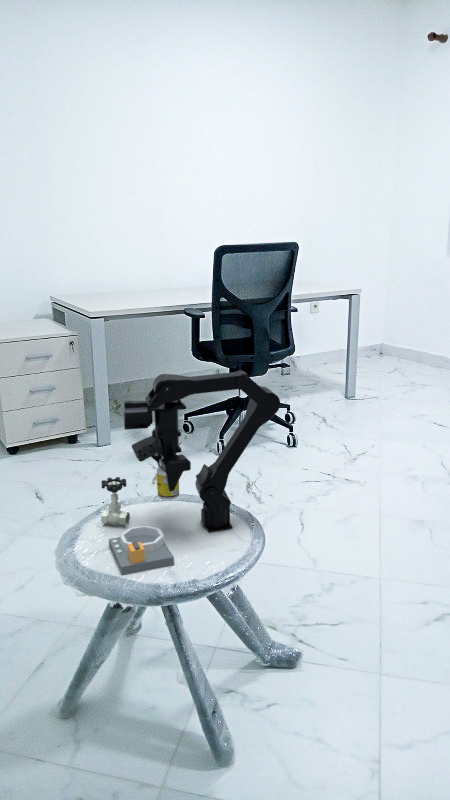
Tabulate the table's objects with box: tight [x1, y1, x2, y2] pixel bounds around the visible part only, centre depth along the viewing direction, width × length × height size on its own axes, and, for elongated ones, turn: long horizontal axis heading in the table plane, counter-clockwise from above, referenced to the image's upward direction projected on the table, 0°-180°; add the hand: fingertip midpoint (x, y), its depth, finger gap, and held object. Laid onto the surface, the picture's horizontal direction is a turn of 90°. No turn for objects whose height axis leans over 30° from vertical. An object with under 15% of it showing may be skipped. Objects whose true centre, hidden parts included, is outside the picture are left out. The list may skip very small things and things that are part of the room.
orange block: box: [128, 541, 145, 564], centre depth 141 cm, size 3×4×4 cm
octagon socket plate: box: [108, 525, 175, 576], centre depth 147 cm, size 12×14×4 cm
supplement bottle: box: [156, 458, 180, 501], centre depth 156 cm, size 5×5×10 cm
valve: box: [100, 476, 131, 527], centre depth 161 cm, size 7×7×12 cm
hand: (168, 486), depth 157 cm, fingers closed on supplement bottle, 5 cm apart
